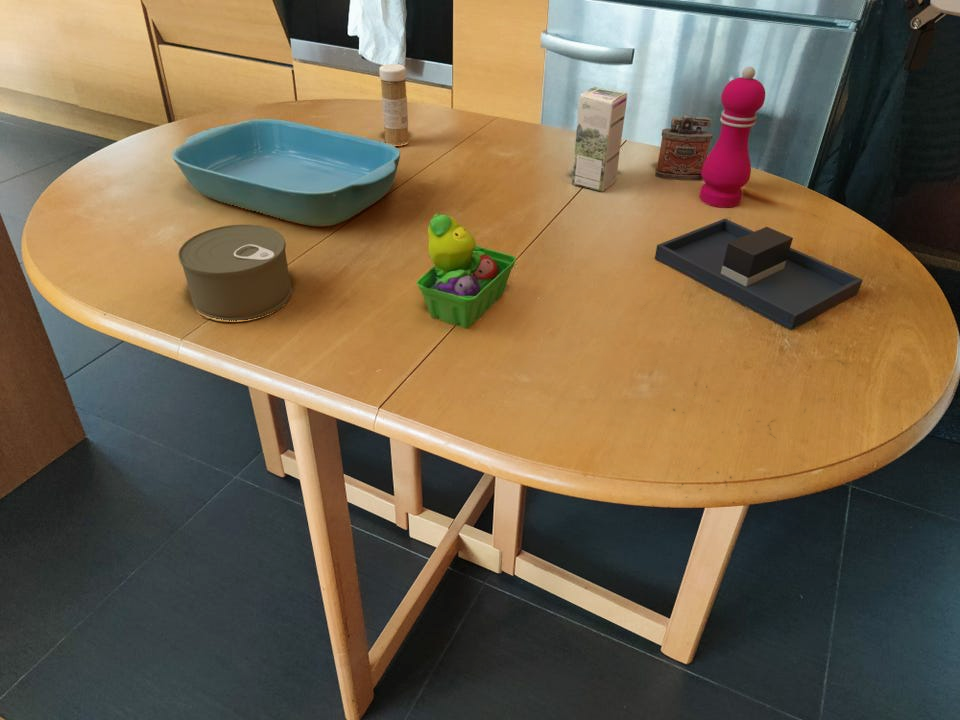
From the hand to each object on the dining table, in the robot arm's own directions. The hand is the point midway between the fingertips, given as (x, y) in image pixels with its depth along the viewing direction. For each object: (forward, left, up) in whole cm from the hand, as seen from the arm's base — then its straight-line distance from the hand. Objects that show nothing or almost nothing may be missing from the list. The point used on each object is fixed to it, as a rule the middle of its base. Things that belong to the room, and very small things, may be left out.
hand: (959, 79), depth 74 cm
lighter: (+40, -10, -26) cm, 49 cm away
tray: (+12, +8, -26) cm, 30 cm away
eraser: (+12, +8, -26) cm, 30 cm away
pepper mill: (+30, -8, -26) cm, 41 cm away
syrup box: (+46, +4, -26) cm, 53 cm away
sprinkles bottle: (+80, +21, -26) cm, 87 cm away
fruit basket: (+28, +43, -26) cm, 58 cm away
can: (+45, +64, -26) cm, 83 cm away
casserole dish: (+70, +46, -26) cm, 88 cm away
